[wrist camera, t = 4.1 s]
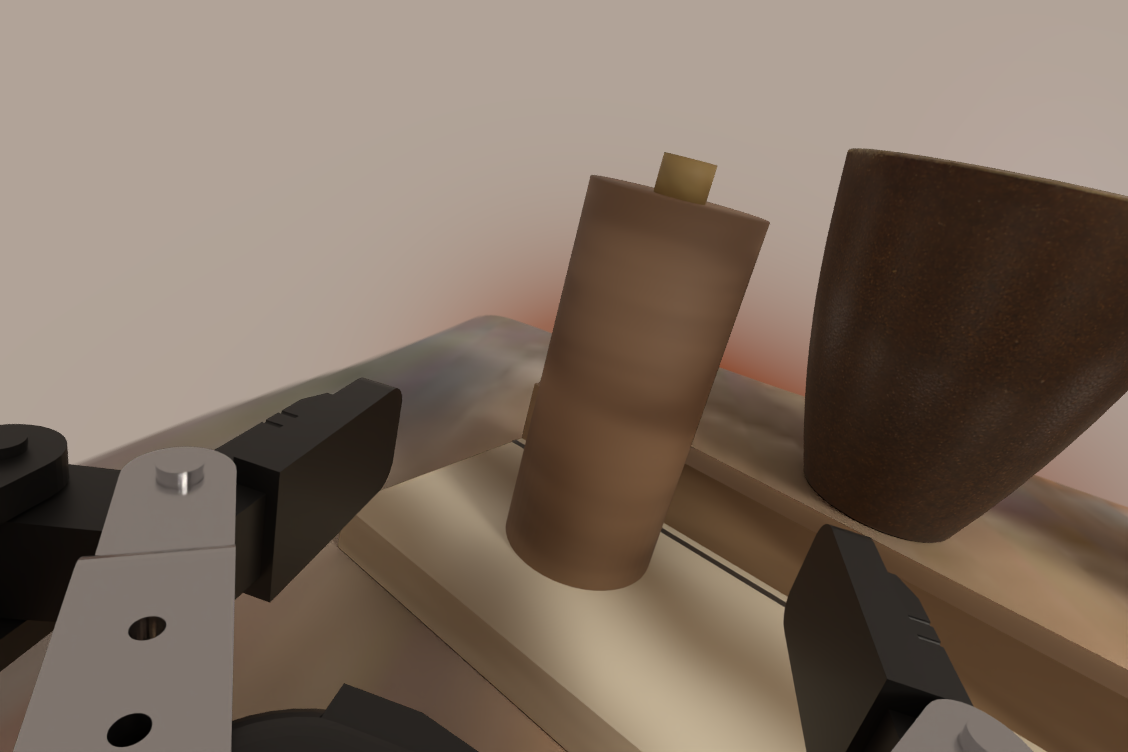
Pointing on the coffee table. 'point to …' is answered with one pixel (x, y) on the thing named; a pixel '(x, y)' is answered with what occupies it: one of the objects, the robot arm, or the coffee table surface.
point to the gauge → (628, 372)
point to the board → (691, 619)
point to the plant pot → (958, 337)
